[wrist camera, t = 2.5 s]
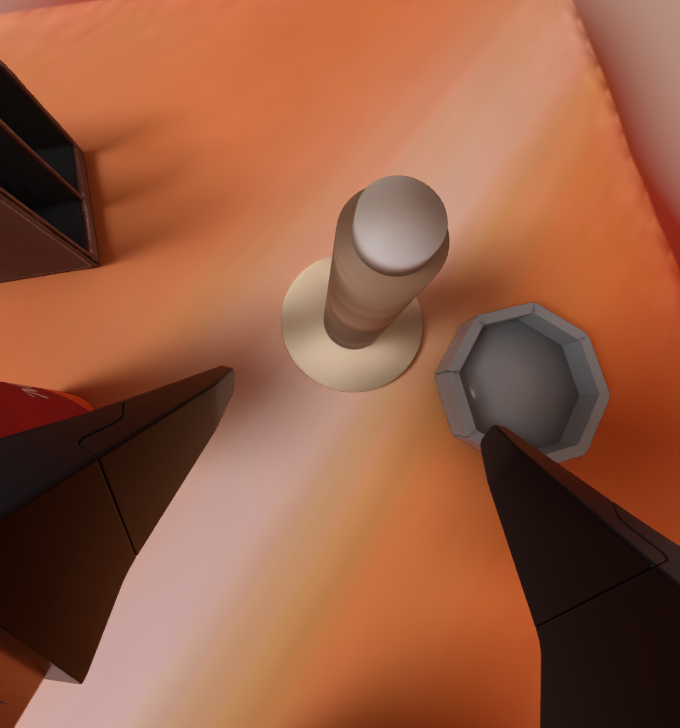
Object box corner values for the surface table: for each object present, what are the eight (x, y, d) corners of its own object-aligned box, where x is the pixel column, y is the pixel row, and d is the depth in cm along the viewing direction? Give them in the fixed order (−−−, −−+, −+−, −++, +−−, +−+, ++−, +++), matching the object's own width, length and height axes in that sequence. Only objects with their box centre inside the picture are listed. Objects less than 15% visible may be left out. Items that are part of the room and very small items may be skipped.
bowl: (597, 438, 25) (626, 441, 23) (465, 479, 24) (482, 486, 22) (549, 302, 27) (573, 292, 24) (422, 333, 25) (433, 325, 23)
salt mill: (389, 341, 24) (479, 264, 11) (331, 356, 24) (357, 290, 11) (373, 286, 25) (442, 152, 12) (317, 298, 24) (324, 171, 11)
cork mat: (437, 372, 25) (439, 371, 25) (300, 408, 24) (300, 408, 23) (399, 244, 26) (400, 241, 26) (267, 271, 25) (266, 268, 24)
